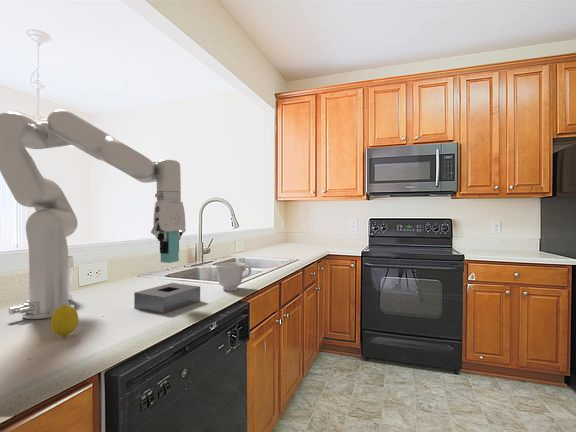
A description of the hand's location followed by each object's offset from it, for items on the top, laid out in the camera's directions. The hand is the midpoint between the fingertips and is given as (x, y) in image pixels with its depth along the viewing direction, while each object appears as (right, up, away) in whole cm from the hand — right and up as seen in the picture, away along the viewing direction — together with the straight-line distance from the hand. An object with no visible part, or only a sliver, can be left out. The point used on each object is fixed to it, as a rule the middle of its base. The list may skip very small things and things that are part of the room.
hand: (169, 251), depth 107 cm
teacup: (+18, -18, +21) cm, 33 cm away
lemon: (-15, -18, -28) cm, 37 cm away
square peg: (0, -3, 0) cm, 3 cm away
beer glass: (-39, -17, +5) cm, 43 cm away
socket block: (0, -17, 0) cm, 17 cm away
